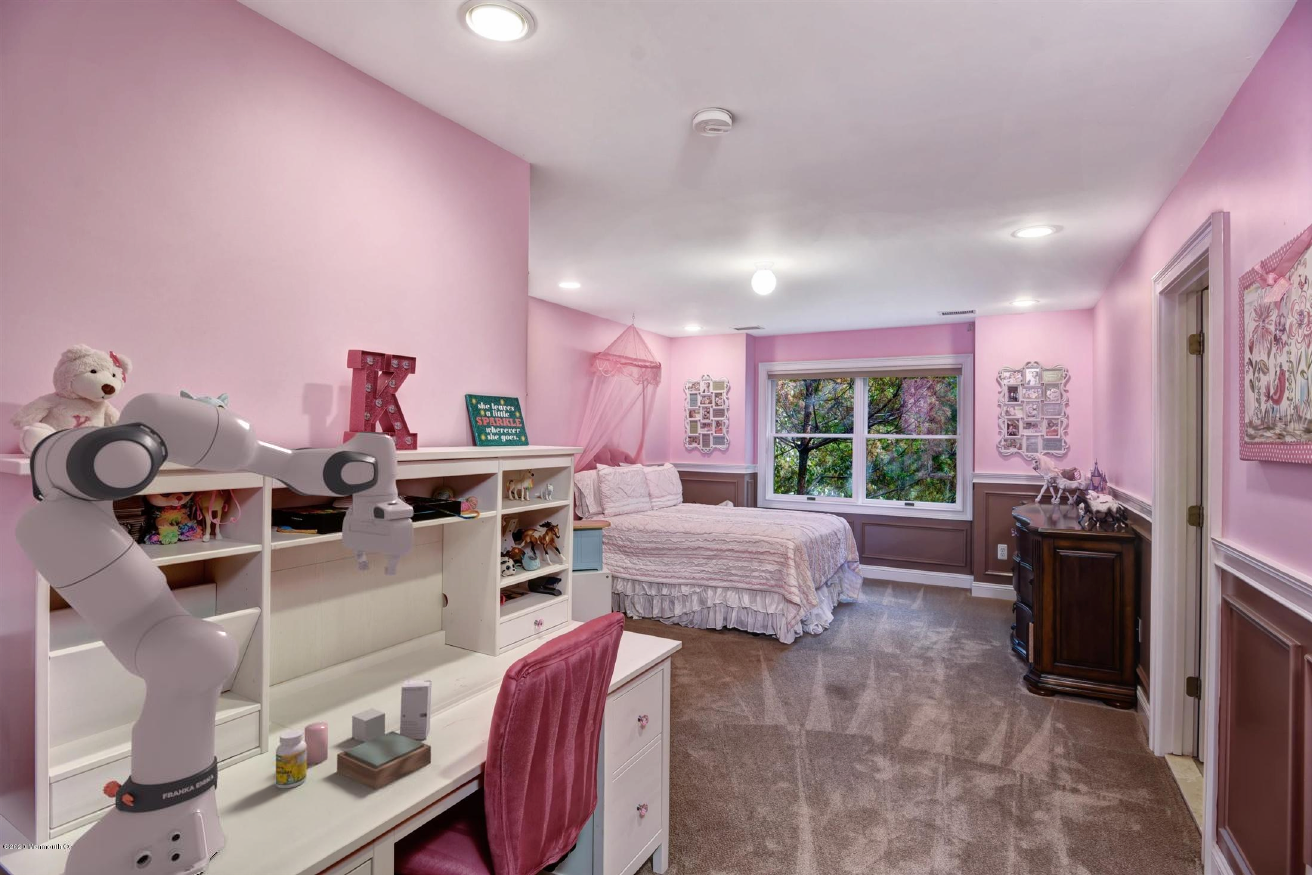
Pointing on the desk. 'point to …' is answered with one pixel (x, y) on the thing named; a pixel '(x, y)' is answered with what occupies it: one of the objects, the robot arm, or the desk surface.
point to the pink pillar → (316, 742)
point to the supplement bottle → (291, 760)
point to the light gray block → (368, 725)
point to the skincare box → (415, 709)
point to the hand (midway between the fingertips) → (376, 572)
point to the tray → (383, 759)
